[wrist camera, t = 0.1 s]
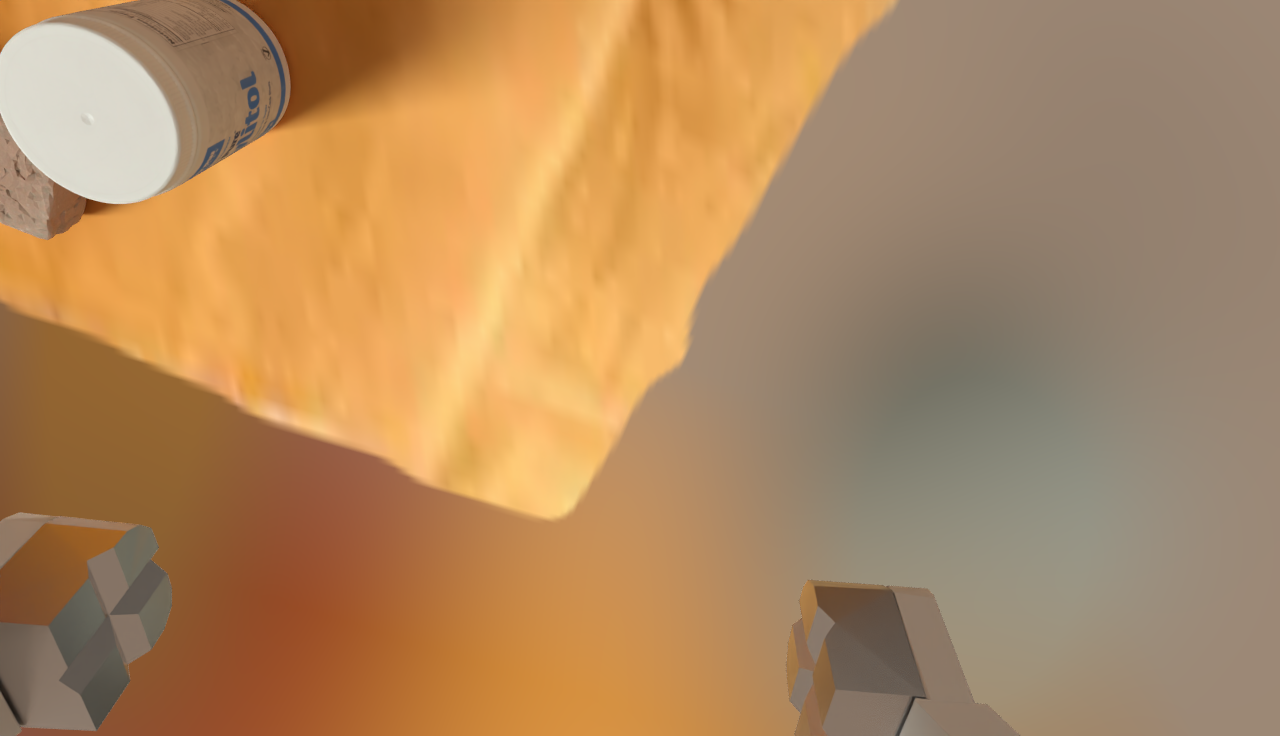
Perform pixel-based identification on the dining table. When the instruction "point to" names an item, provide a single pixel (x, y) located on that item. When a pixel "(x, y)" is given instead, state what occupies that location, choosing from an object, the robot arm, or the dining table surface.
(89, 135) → the supplement tub
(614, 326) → the dining table surface
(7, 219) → the brick
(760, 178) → the dining table surface
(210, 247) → the dining table surface
